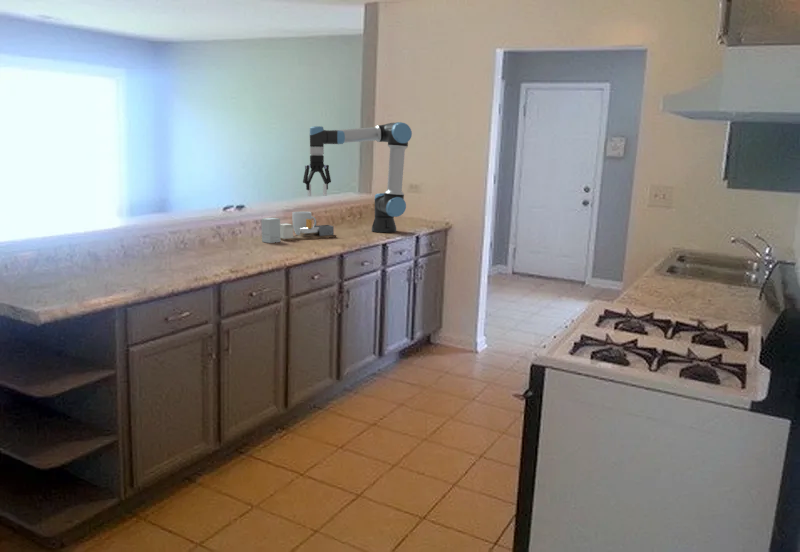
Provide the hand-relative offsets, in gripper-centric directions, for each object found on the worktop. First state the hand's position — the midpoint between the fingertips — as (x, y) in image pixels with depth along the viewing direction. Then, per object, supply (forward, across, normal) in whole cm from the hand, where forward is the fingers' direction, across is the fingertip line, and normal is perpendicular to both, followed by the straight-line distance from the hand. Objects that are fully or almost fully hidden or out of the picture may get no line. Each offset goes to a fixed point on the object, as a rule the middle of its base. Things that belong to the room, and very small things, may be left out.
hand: (317, 195), depth 377 cm
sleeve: (+22, -4, 0) cm, 23 cm away
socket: (+22, +20, 0) cm, 30 cm away
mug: (+24, +2, -14) cm, 28 cm away
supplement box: (+24, +30, +3) cm, 38 cm away
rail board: (+23, +6, 0) cm, 24 cm away
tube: (+22, +2, 0) cm, 22 cm away
